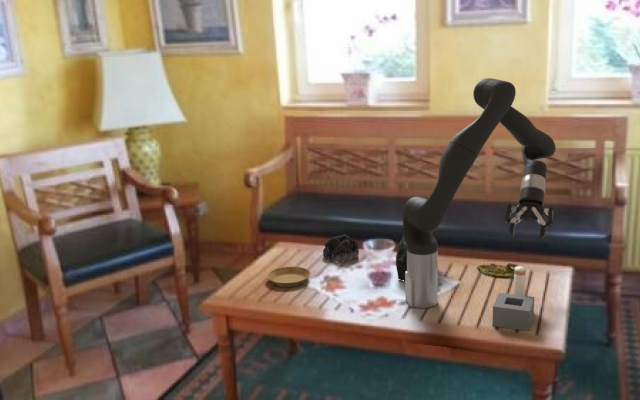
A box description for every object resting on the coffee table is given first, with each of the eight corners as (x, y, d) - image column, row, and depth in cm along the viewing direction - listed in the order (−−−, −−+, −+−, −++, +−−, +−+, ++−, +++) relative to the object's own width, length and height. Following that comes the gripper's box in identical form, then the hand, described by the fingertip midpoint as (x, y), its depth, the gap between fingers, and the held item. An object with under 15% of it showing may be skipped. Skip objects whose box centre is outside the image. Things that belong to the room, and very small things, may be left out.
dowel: (516, 308, 199) (517, 270, 195) (511, 303, 202) (512, 266, 198) (526, 306, 199) (527, 269, 196) (521, 302, 202) (522, 265, 199)
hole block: (529, 331, 184) (529, 311, 183) (492, 325, 188) (492, 306, 187) (533, 315, 193) (534, 296, 191) (498, 311, 197) (499, 292, 196)
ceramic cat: (427, 262, 238) (426, 209, 232) (442, 266, 233) (442, 212, 228) (392, 279, 224) (391, 223, 219) (408, 284, 220) (407, 227, 214)
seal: (472, 277, 226) (516, 284, 219) (472, 265, 224) (516, 271, 217) (481, 265, 233) (524, 271, 226) (480, 253, 232) (524, 258, 224)
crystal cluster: (325, 252, 255) (321, 228, 251) (360, 249, 253) (357, 225, 250) (322, 268, 242) (319, 243, 239) (359, 264, 241) (356, 239, 237)
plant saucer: (280, 271, 237) (280, 264, 237) (317, 276, 231) (317, 269, 230) (260, 286, 224) (259, 279, 224) (298, 292, 218) (298, 285, 218)
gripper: (508, 184, 212) (501, 229, 206) (555, 186, 207) (550, 233, 200) (510, 195, 218) (504, 240, 212) (556, 198, 213) (551, 244, 206)
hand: (526, 236), depth 206 cm, fingers open, 8 cm apart
